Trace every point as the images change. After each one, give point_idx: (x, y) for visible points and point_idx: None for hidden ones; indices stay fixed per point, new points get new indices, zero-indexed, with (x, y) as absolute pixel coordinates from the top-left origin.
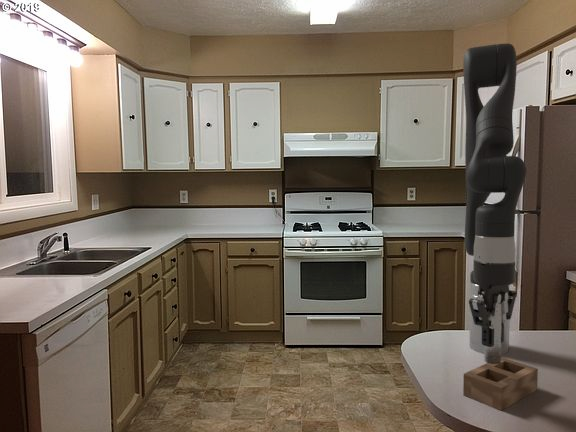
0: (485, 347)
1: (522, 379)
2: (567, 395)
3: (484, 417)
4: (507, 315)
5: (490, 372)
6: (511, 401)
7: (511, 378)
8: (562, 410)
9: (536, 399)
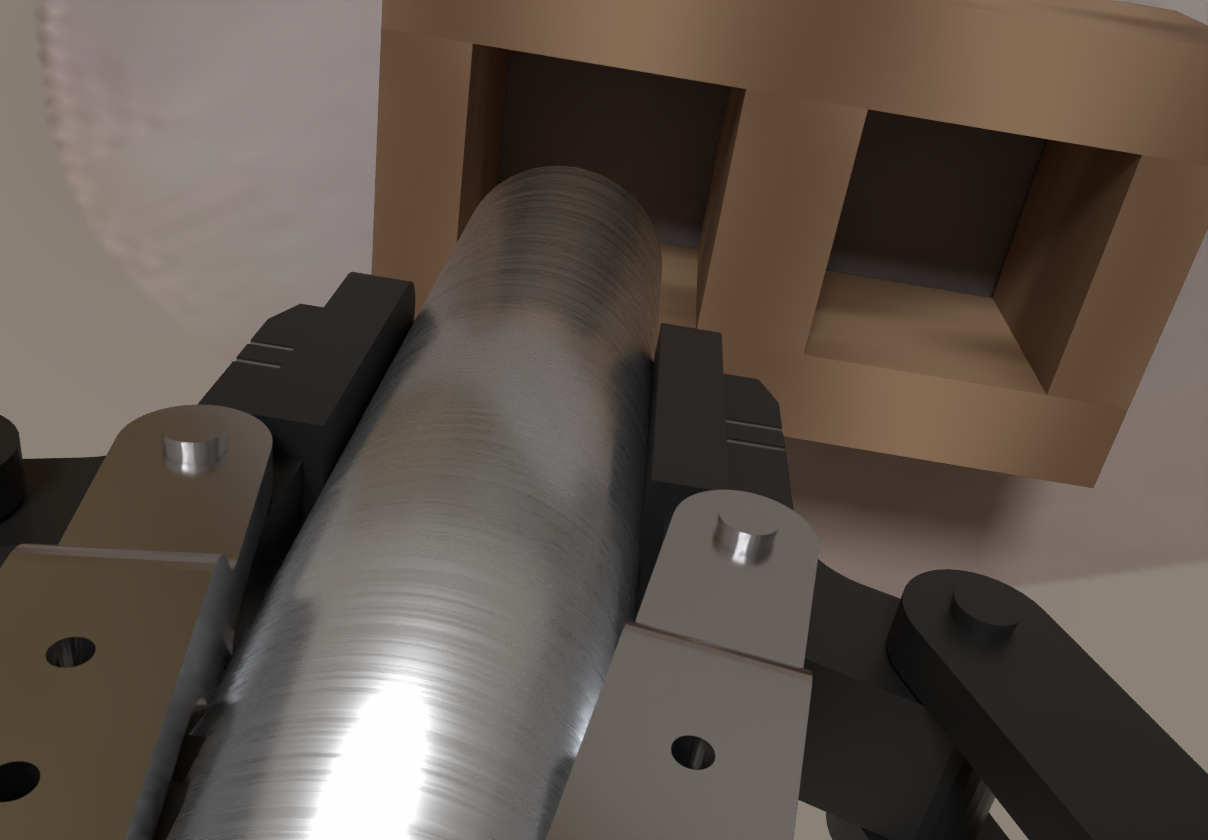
0: (442, 274)
1: None
2: (1071, 557)
3: (238, 208)
4: (848, 837)
5: (737, 114)
6: None
7: None
8: None
9: None
